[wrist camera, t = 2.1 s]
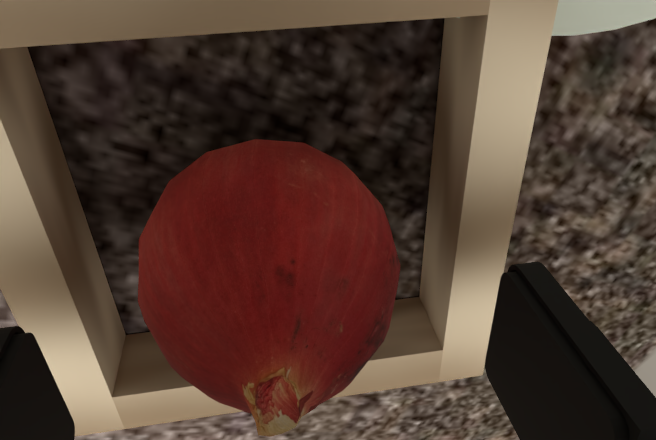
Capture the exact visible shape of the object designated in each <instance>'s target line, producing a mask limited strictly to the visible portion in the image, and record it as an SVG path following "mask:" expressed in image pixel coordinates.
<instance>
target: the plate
mask: <svg viewBox="0 0 656 440" xmlns="http://www.w3.org/2000/svg"><path fill="white" fill-rule="evenodd" d="M456 18H459V19H460V17H456ZM654 18H656V0H559V1H558V6H557V11H556V15H555V20H554V25H553V30H552V35H551V36H575V35H582V34H588V33H595V32H602V31H609V30H615V29H619V28H622V27H626V26H629V25H633V24H636V23H640V22H644V21H647V20H651V19H654Z"/></svg>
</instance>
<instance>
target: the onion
mask: <svg viewBox="0 0 656 440" xmlns="http://www.w3.org/2000/svg"><path fill="white" fill-rule="evenodd" d="M399 273H400V263H399V259H398V255H397V251H396V248H395V244H394V240H393V236H392V233H391V229H390V225H389V222H388V219H387V217H386V214H385V211H384V209H383V206H382V205H381V203H380V202H379V201H378V200H377V199H376V198H375V197H374V195H373V194H372V193H371V192H370V191H369V190H368V189H367V187H366V186H365V185H364V184H363V183H362V182H361V181H360V179H359V178H358V177H357V176H356V175H355V174H354V173H353V172H352V171H351V170H350V169H349V168H348V167H347V166H346V165H345V164H344V163H343V162H341V161H339V160H337V159H335V158H333V157H331V156H329V155H327V154H325V153H323V152H321V151H319V150H317V149H316V148H314V147H312V146H310V145H308V144H306V143H302V142H289V141H276V140H262V139H254V140H250V141H246V142H242V143H239V144H235V145H231V146H227V147H224V148H220V149H216V150H212V151H208V152H206V153H205V154H203V155H202V156H201V157H199V158H198V159H197V160H196V161H194V162H193V163H192V164H190V165H189V166H188V167H187V168H185V169H184V170H183V171H181V172H180V173H179V174H178V175H176V176H175V177H174V178H172V179H171V180H170V181H169V182H168V184H167V186H166V188H165V189H164V191H163V193H162V195H161V197H160V199H159V201H158V202H157V204H156V206H155V208H154V210H153V212H152V214H151V215H150V217H149V219H148V221H147V224H146V226H145V228H144V230H143V232H142V234H141V236H140V238H139V284H138V303H139V306H140V309H141V312H142V315H143V318H144V321H145V323H146V325H147V327H148V328H149V330H150V332H151V334H152V336H153V337H154V339H155V341H156V343H157V344H158V346H159V348H160V350H161V352H162V353H163V355H164V357H165V358H166V360H167V361H168V363H169V365H170V366H171V367H172V368H173V369H174V370H175V371H176V372H177V373H178V374H179V375H180V376H181V377H182V378H183V379H185V380H186V381H187V382H189V383H190V384H192V385H193V386H194V387H196V388H197V389H199V390H200V391H201V392H203V393H204V394H205V395H207V396H208V397H210V398H211V399H213V400H215V401H217V402H219V403H221V404H224V405H227V406H230V407H233V408H236V409H239V410H242V411H245V412H248V413H252V415H253V417H254V419H255V422H256V426H257V432H258V435H262V436H274V435H278V434H282V433H284V432H286V431H289V430H291V429H293V428H295V427H296V426H297V424H298V422H299V420H300V418H301V417H302V416H304V415H305V414H307V413H308V412H310V411H311V410H313V409H315V408H316V407H317V406H318V405H319V404H321V403H323V402H325V401H326V400H328V399H330V398H332V397H333V396H335V395H337V394H338V393H340V392H342V391H343V390H344V389H345V388H346V387H347V386H348V385H349V384H350V383H351V382H352V381H353V380H354V378H355V377H356V376H357V375H358V373H359V372H360V371H361V370H362V368H363V367H364V366H365V365H366V363H367V362H368V361H369V360H370V358H371V357H372V356H373V355H374V353H375V352H376V351H377V349H378V348H379V347H380V346H381V344H382V343H383V342H384V340H385V337H386V335H387V332H388V330H389V327H390V322H391V317H392V312H393V307H394V302H395V297H396V292H397V287H398V281H399Z"/></svg>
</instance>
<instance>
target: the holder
mask: <svg viewBox="0 0 656 440" xmlns="http://www.w3.org/2000/svg"><path fill="white" fill-rule="evenodd" d="M558 1H559V0H0V289H1V291H2V293H3V295H4V297H5V299H6V301H7V303H8V305H9V307H10V309H11V311H12V313H13V315H14V317H15V319H16V321H17V323H18V325H19V327H21V328H22V329H23V330H24V332H25V333H32V334H33V335H34V336H35V338H36V340H37V343H38V345H39V347H40V349H41V351H42V353H43V356H44V358H45V360H46V362H47V364H48V366H49V369H50V371H51V373H52V375H53V377H54V379H55V382H56V384H57V386H58V388H59V390H60V392H61V395H62V397H63V399H64V401H65V403H66V405H67V408H68V410H69V412H70V414H71V416H72V418H73V421H74V425H75V436H81V435H88V434H94V433H101V432H108V431H114V430H121V429H128V428H134V427H141V426H148V425H154V424H161V423H168V422H174V421H181V420H188V419H194V418H201V417H208V416H214V415H221V414H228V413H234V412H241V411H242V410H239V409H236V408H233V407H230V406H227V405H224V404H221V403H219V402H217V401H215V400H213V399H211V398H210V397H208V396H207V395H205V394H204V393H203V392H201V391H200V390H199V389H197V388H196V387H194V386H193V385H192V384H190V383H189V382H187V381H186V380H185V379H183V378H182V377H181V376H180V375H179V374H178V373H177V372H176V371H175V370H174V369H173V368H172V367H171V366H170V365H169V363H168V361H167V360H166V358H165V357H164V355H163V353H162V352H161V350H160V348H159V346H158V344H157V343H156V341H155V339H154V337H153V336H152V334H151V332H146V333H138V334H130V335H126V334H125V331H124V328H123V325H122V322H121V319H120V316H119V314H118V311H117V308H116V305H115V302H114V299H113V296H112V293H111V290H110V287H109V284H108V281H107V279H106V276H105V273H104V270H103V267H102V264H101V261H100V258H99V255H98V252H97V249H96V246H95V243H94V241H93V238H92V235H91V232H90V229H89V226H88V223H87V220H86V217H85V214H84V211H83V208H82V206H81V203H80V200H79V197H78V194H77V191H76V188H75V185H74V182H73V179H72V176H71V173H70V171H69V168H68V165H67V162H66V159H65V156H64V153H63V150H62V147H61V144H60V141H59V138H58V136H57V133H56V130H55V127H54V124H53V121H52V118H51V115H50V112H49V109H48V106H47V103H46V101H45V98H44V95H43V92H42V89H41V86H40V83H39V80H38V77H37V74H36V71H35V68H34V66H33V63H32V60H31V57H30V54H29V51H28V48H27V47H31V46H45V45H60V44H74V43H89V42H103V41H118V40H132V39H147V38H161V37H176V36H190V35H205V34H219V33H234V32H248V31H263V30H277V29H292V28H306V27H321V26H335V25H350V24H364V23H379V22H393V21H408V20H422V19H437V18H445V20H444V31H443V42H442V53H441V63H440V74H439V85H438V96H437V107H436V118H435V129H434V140H433V151H432V162H431V173H430V184H429V195H428V206H427V217H426V228H425V239H424V250H423V261H422V272H421V283H420V294H419V297H414V298H406V299H399V300H395V302H394V307H393V312H392V317H391V322H390V327H389V330H388V332H387V335H386V337H385V340H384V342H383V343H382V344H381V346H380V347H379V348H378V349H377V351H376V352H375V353H374V355H373V356H372V357H371V358H370V360H369V361H368V362H367V363H366V365H365V366H364V367H363V368H362V370H361V371H360V372H359V373H358V375H357V376H356V377H355V378H354V380H353V381H352V382H351V383H350V384H349V385H348V386H347V387H346V388H345V389H344V390H343V391H342V392H340V393H338V394H337V395H335V396H333V397H332V398H334V397H341V396H348V395H354V394H361V393H368V392H374V391H381V390H388V389H394V388H401V387H408V386H414V385H421V384H428V383H434V382H441V381H448V380H454V379H461V378H468V377H474V376H481V375H483V370H484V365H485V359H486V353H487V348H488V343H489V337H490V332H491V327H492V321H493V316H494V311H495V305H496V300H497V295H498V289H499V284H500V278H501V275H502V274H503V271H504V267H505V262H506V257H507V252H508V247H509V242H510V237H511V232H512V227H513V222H514V217H515V212H516V207H517V203H518V198H519V193H520V188H521V183H522V178H523V173H524V168H525V163H526V158H527V153H528V148H529V143H530V139H531V134H532V129H533V124H534V119H535V114H536V109H537V104H538V99H539V94H540V89H541V84H542V79H543V75H544V70H545V65H546V60H547V55H548V50H549V45H550V40H551V35H552V30H553V25H554V20H555V15H556V11H557V6H558ZM456 17H460V19H459V18H456Z"/></svg>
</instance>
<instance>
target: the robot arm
mask: <svg viewBox="0 0 656 440" xmlns="http://www.w3.org/2000/svg"><path fill="white" fill-rule="evenodd" d="M485 369H486V373H487V376H488V379H489V381H490V383H491V385H492V387H493V389H494V390H495V392H496V394H497V396H498V398H499V400H500V402H501V404H502V406H503V408H504V410H505V412H506V414H507V416H508V417H509V419H510V421H511V423H512V425H513V427H514V429H515V431H516V433H517V435H518V437H519V439H520V440H656V398H655V396H654V395H653V394H652V393H651V392H650V390H649V389H648V388H647V387H646V385H645V384H644V383H643V382H642V381H641V380H640V378H639V377H638V376H637V375H636V373H635V372H634V371H633V370H632V369H631V367H630V366H629V365H628V364H627V362H626V361H625V360H624V359H623V358H622V356H621V355H620V354H619V353H618V352H617V350H616V349H615V348H614V347H613V346H612V344H611V343H610V342H609V341H608V339H607V338H606V337H605V336H604V335H603V333H602V332H601V331H600V330H599V329H598V327H597V326H595V325H594V324H593V323H592V322H591V321H589V320H588V319H587V317H586V316H585V315H584V314H583V313H582V311H581V310H580V309H579V308H578V306H577V305H576V304H575V303H574V302H573V300H572V299H571V298H570V297H569V296H568V294H567V293H566V292H565V291H564V289H563V288H562V287H561V286H560V285H559V283H558V282H557V281H556V280H555V278H554V277H553V276H552V275H551V274H550V272H549V271H548V270H547V269H546V267H545V266H544V265H543V264H542V263H540V262H532V263H524V264H515V265H511V266H510V267H509V269H508V272H507V273H503V274H502V275H501V278H500V284H499V289H498V295H497V300H496V305H495V311H494V316H493V321H492V327H491V332H490V337H489V343H488V348H487V353H486V359H485ZM74 437H75V425H74V421H73V418H72V416H71V414H70V412H69V410H68V408H67V405H66V403H65V401H64V399H63V397H62V395H61V392H60V390H59V388H58V386H57V384H56V382H55V379H54V377H53V375H52V373H51V371H50V369H49V366H48V364H47V362H46V360H45V358H44V356H43V353H42V351H41V349H40V347H39V345H38V343H37V340H36V338H35V336H34V335H33V334H32V333H25V332H24V330H23V329H22V328H21V327H19V326H15V327H7V328H0V440H74Z"/></svg>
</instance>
